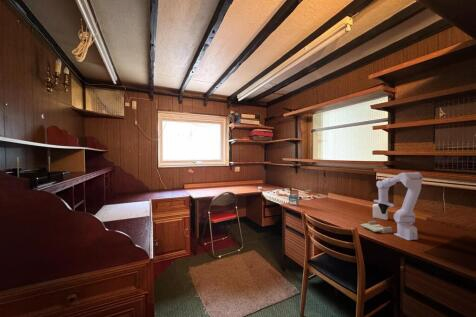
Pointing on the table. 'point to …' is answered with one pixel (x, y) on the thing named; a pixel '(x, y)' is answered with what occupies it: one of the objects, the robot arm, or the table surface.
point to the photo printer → (379, 213)
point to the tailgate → (371, 227)
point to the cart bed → (380, 227)
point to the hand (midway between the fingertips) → (383, 213)
